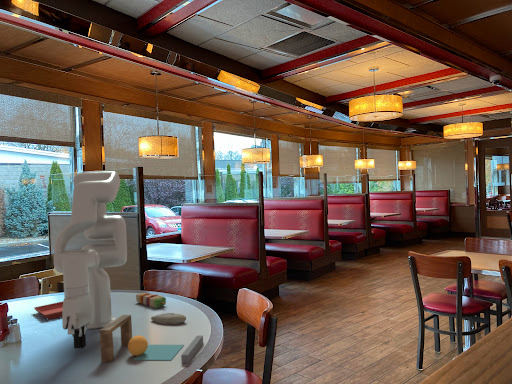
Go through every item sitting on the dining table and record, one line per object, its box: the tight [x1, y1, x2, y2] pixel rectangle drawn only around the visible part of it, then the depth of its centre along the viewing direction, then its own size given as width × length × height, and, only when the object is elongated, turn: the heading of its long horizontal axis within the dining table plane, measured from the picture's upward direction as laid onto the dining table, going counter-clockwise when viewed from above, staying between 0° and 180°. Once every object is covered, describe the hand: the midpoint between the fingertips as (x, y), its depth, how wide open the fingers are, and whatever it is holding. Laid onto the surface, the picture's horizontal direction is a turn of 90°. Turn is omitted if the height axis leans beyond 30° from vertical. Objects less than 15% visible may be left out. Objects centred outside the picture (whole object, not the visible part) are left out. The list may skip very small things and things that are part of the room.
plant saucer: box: [33, 300, 64, 320], centre depth 184 cm, size 18×18×3 cm
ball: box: [127, 335, 149, 356], centre depth 130 cm, size 6×6×6 cm
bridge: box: [99, 314, 133, 363], centre depth 133 cm, size 3×15×10 cm, turn 171°
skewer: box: [135, 292, 167, 309], centre depth 188 cm, size 21×6×5 cm, turn 46°
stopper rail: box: [180, 335, 204, 365], centre depth 130 cm, size 2×16×2 cm, turn 171°
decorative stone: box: [150, 312, 187, 325], centre depth 162 cm, size 6×16×3 cm, turn 72°
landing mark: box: [133, 344, 185, 362], centre depth 131 cm, size 12×12×1 cm
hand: (80, 347), depth 135 cm, fingers closed
